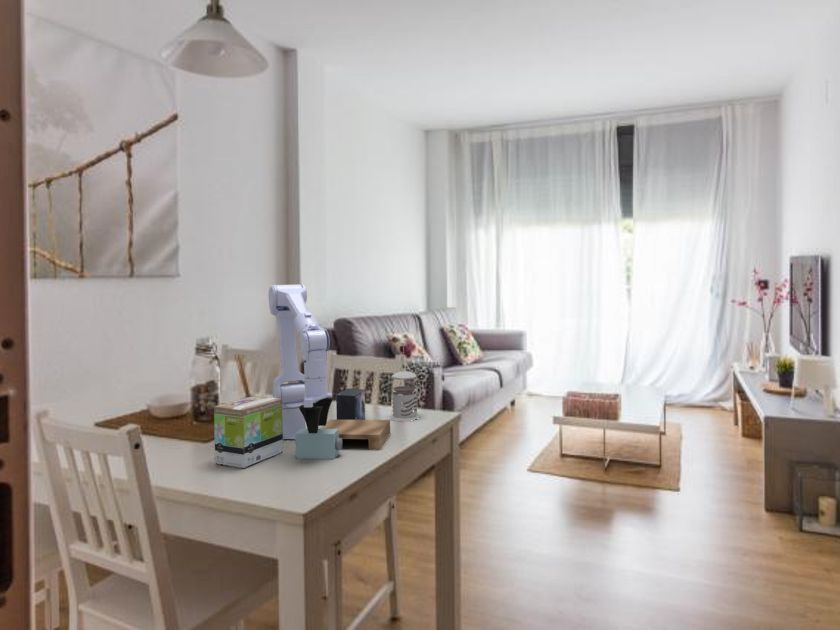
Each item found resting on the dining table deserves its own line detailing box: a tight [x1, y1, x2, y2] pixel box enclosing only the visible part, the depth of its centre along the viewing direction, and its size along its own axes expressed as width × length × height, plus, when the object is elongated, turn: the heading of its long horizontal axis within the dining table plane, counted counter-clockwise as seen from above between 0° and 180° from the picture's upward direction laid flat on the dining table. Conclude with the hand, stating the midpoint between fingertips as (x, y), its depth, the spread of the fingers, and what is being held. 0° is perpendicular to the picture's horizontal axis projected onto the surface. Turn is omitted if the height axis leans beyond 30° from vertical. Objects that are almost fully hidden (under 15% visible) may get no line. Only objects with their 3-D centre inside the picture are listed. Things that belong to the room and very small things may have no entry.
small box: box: [335, 387, 366, 420], centre depth 184 cm, size 11×6×10 cm, turn 168°
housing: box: [294, 428, 343, 460], centre depth 153 cm, size 11×5×6 cm, turn 84°
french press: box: [390, 340, 422, 422], centre depth 192 cm, size 10×12×25 cm
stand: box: [319, 419, 391, 450], centre depth 166 cm, size 18×16×4 cm
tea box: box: [213, 395, 284, 469], centre depth 152 cm, size 15×10×15 cm, turn 155°
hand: (317, 429), depth 152 cm, fingers open, 7 cm apart
